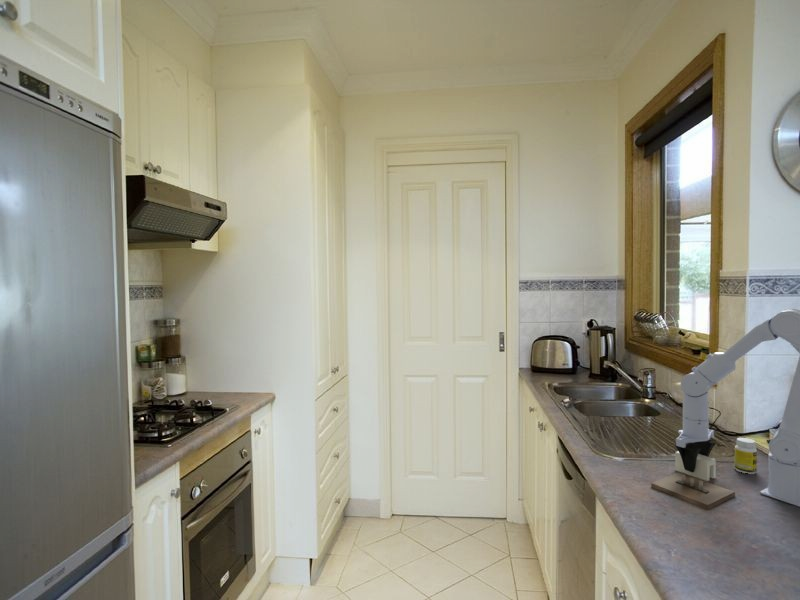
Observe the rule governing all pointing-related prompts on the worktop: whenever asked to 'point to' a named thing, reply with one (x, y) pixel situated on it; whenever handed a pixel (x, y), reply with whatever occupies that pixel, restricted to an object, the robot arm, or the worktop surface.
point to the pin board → (693, 490)
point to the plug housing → (698, 467)
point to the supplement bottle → (745, 456)
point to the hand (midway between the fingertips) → (695, 468)
